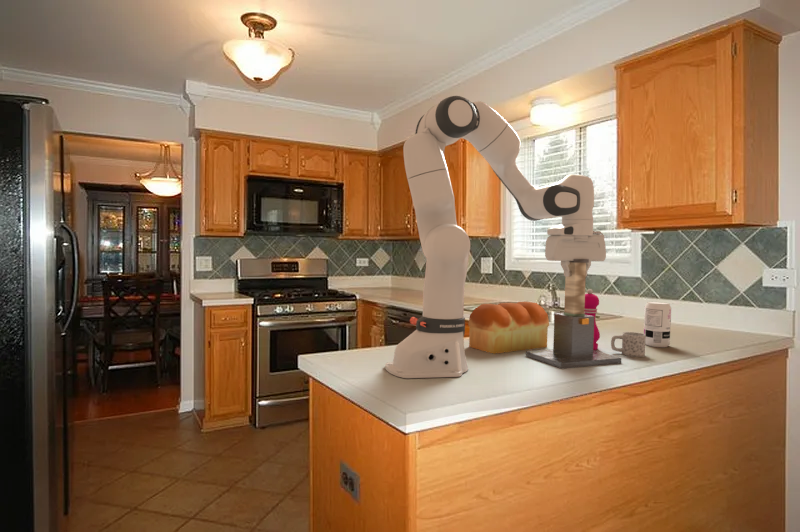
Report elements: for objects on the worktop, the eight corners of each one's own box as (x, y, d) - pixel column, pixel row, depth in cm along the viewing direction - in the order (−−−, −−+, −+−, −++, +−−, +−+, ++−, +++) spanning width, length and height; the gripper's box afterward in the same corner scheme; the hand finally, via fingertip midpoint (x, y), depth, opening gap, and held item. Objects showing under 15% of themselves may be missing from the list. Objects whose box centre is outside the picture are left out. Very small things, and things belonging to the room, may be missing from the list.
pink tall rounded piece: (601, 351, 162) (603, 290, 161) (578, 349, 163) (580, 289, 162) (597, 346, 169) (599, 288, 168) (574, 345, 170) (577, 287, 169)
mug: (642, 353, 160) (643, 332, 160) (646, 357, 153) (647, 336, 153) (609, 350, 162) (609, 330, 162) (612, 355, 156) (613, 334, 156)
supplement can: (639, 342, 178) (640, 301, 177) (662, 343, 178) (664, 301, 177) (649, 347, 170) (651, 303, 169) (674, 347, 169) (676, 304, 169)
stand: (561, 368, 137) (562, 320, 136) (525, 356, 152) (527, 312, 151) (621, 362, 145) (623, 317, 145) (582, 351, 160) (583, 310, 159)
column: (572, 330, 145) (575, 259, 144) (561, 327, 149) (563, 258, 149) (586, 329, 147) (588, 259, 146) (574, 327, 151) (576, 258, 150)
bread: (521, 341, 177) (522, 300, 177) (548, 347, 167) (550, 303, 166) (467, 347, 164) (468, 303, 164) (493, 354, 154) (494, 307, 153)
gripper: (596, 231, 154) (594, 275, 154) (542, 229, 146) (541, 275, 147) (612, 230, 148) (610, 276, 148) (556, 228, 140) (555, 277, 141)
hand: (575, 276), depth 147 cm, fingers closed on column, 4 cm apart
